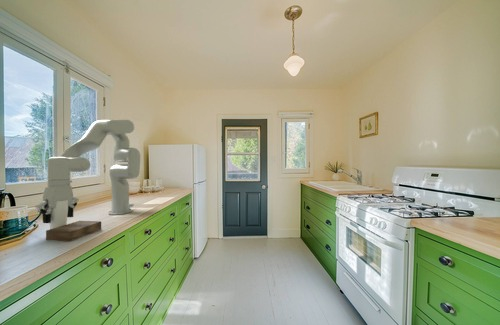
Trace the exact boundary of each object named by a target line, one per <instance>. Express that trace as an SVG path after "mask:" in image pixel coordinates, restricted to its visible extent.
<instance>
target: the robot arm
mask: <svg viewBox="0 0 500 325" xmlns="http://www.w3.org/2000/svg"><path fill="white" fill-rule="evenodd" d="M134 130H135V125H134V122H133V121H131V120H130V119H100V120H96V121H94V122H93V123H92V124H91V125H90V126H89V128H88V130H86V132H85V134H84V135H83V136H82V137H81V139H79V140H77V141H76V142H75V143H73V144H72V145H70V146H69V147H67V148H65V150H63V151H62V153H61V154H60V155H59V156H53V157H49V158H47V186H45V188H44V190H43V195H42V201H41V202H39V203H38V204H37V205H35V207H34V208H35V209H36V210H37V212H38V213H40V215H42V223H43V224H50V222H51V214H49V213H50V212H51V210H52V209H55V208H56V203H57V201H64V200H68V215H67V218H74V210H75V208H76V206H77V205H78V202H79V198H78V197H75V196H74V192H73V188H72V185H71V184H72V183H73V181H72V180H71V173H83V172H84V173H85V172H87V171H88V170H89V169H90V168H91V165H92V164H91V161H90V160H89V159H87V158H86V157H81V156H83V155H84V154H87V153H89V152H91V151H94V150H96V149H99V147H101V145H102V143H103V141H105V139H106V137H107V136H108V135H109V136H110V135H111V137H112V139H113V160H114V162H117V163H118V164H114V165H112V166H111V167H110V168H109V171H108V172H109V177H110V183H111V187H110V188H111V190H110V192H111V193H110V194H111V210H110V211H108V215H112V216H116V215H124V214H128V213H129V214H130V213H131V212H132V210H133V209H132V208H133V207H134V206H135V204H134V203H131V204H130V184H129V182H128V180H135V179H137V178H138V177H139V174H140V171H141V152H140V150H139V149H138V148H135V147H130V139H129V137H128V136H127V134H131V133H133V132H134ZM119 163H120V164H119ZM124 163H125V164H124Z"/></svg>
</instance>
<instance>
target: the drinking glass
mask: <svg viewBox="0 0 500 325" xmlns="http://www.w3.org/2000/svg"><path fill="white" fill-rule="evenodd" d="M49 214H51V222H50V223H49V228H50V229H53V228H57V227H60V226H63V225H67V224H68V223H67V222H68V217H67V215H68V200H64V201H57V203H56V208H55V209H52V210H51V212H50V213H49ZM50 229H49V230H50Z"/></svg>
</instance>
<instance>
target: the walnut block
mask: <svg viewBox="0 0 500 325" xmlns="http://www.w3.org/2000/svg"><path fill="white" fill-rule="evenodd" d="M101 230H102V221H98V220H96V221H95V220H78V221H74V222H71V223H67V225H63V226H60V227H57V228H53V229H47V230H45V240H46V241H59V242H73V241H75V240H78V239H81V238H83V237H86V236H88V235H91V234H94V233H96V232H98V231H101Z"/></svg>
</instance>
